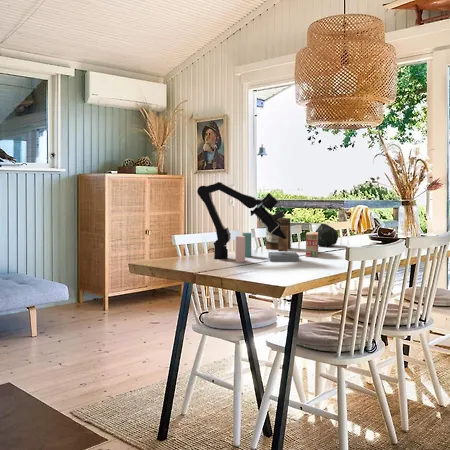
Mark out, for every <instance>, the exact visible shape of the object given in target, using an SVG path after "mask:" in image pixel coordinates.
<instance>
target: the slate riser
mask: <svg viewBox="0 0 450 450" xmlns="http://www.w3.org/2000/svg"><path fill="white" fill-rule="evenodd" d="M299 256H300V255H299V254H298V253H297V252H296V251H287V252H282V251H269V252H268V257H267V258H268V259H269V261H270V262H299V260H300V257H299Z"/></svg>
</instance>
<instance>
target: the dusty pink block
mask: <svg viewBox="0 0 450 450" xmlns="http://www.w3.org/2000/svg"><path fill="white" fill-rule="evenodd" d="M235 262H236V263H246V257H245V236H243V235H235Z"/></svg>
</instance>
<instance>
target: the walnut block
mask: <svg viewBox="0 0 450 450" xmlns="http://www.w3.org/2000/svg"><path fill="white" fill-rule="evenodd" d="M280 229H281V231H282V232H283V233H284V235H285V236H286V239H283V238H281V237H279V242H278V250H277V252H289V249H288V226H280Z"/></svg>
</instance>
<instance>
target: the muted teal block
mask: <svg viewBox="0 0 450 450" xmlns="http://www.w3.org/2000/svg"><path fill="white" fill-rule="evenodd" d="M242 236H245V258H251V257H252V232H242Z"/></svg>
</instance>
